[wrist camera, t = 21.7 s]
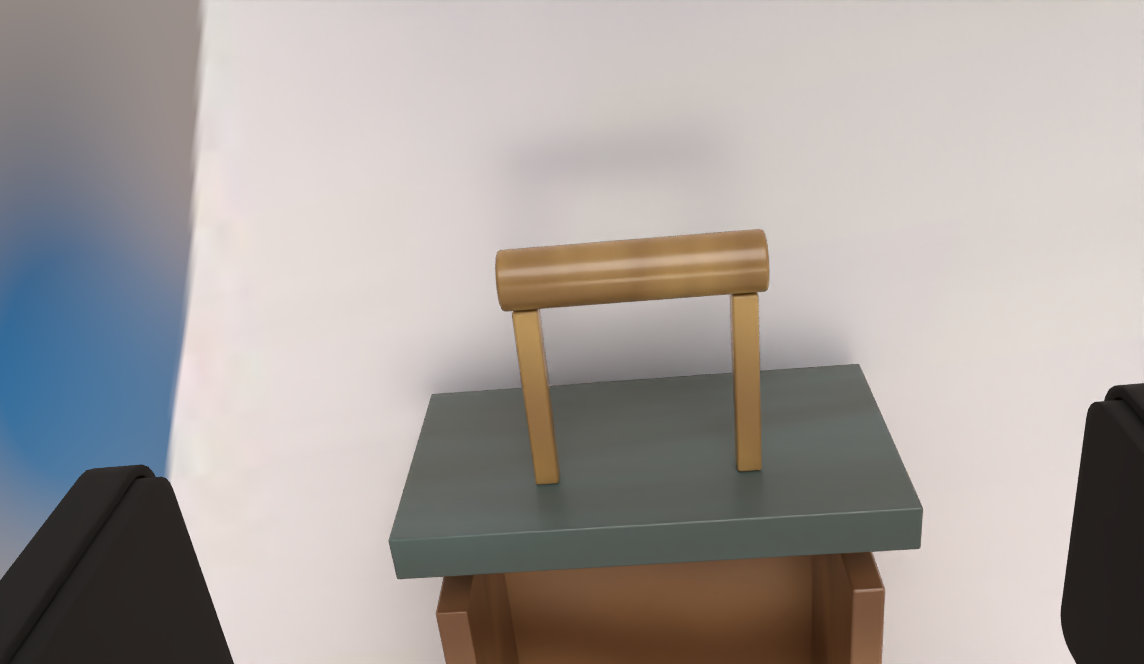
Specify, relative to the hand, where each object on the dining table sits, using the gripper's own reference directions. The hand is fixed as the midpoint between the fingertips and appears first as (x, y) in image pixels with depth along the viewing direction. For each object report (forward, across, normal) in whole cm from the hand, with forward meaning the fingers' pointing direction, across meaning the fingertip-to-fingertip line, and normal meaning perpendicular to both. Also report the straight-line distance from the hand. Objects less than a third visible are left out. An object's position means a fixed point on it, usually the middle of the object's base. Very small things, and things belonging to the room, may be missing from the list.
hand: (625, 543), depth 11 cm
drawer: (+18, 0, +13) cm, 22 cm away
